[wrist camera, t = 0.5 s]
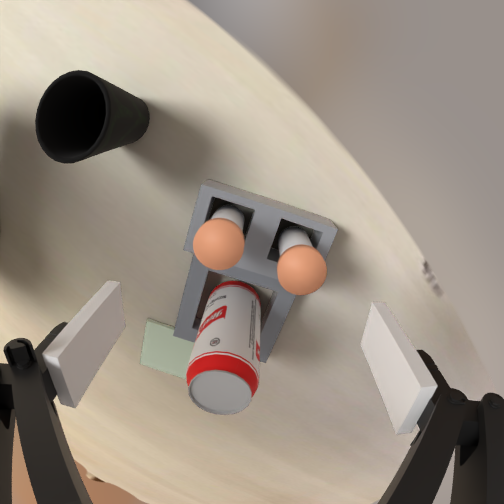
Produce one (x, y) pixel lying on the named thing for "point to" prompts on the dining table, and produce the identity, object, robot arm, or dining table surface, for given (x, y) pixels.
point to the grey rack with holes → (249, 257)
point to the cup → (87, 117)
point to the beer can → (226, 350)
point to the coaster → (165, 349)
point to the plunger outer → (299, 262)
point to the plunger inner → (221, 239)
